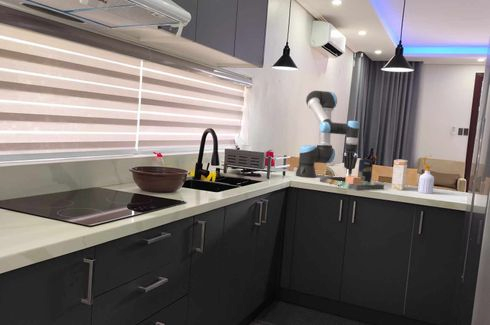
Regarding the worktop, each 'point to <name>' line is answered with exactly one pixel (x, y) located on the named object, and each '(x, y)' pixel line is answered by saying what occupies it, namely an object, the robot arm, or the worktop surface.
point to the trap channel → (363, 186)
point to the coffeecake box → (399, 174)
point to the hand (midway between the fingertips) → (348, 178)
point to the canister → (365, 169)
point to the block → (353, 180)
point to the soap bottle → (426, 181)
